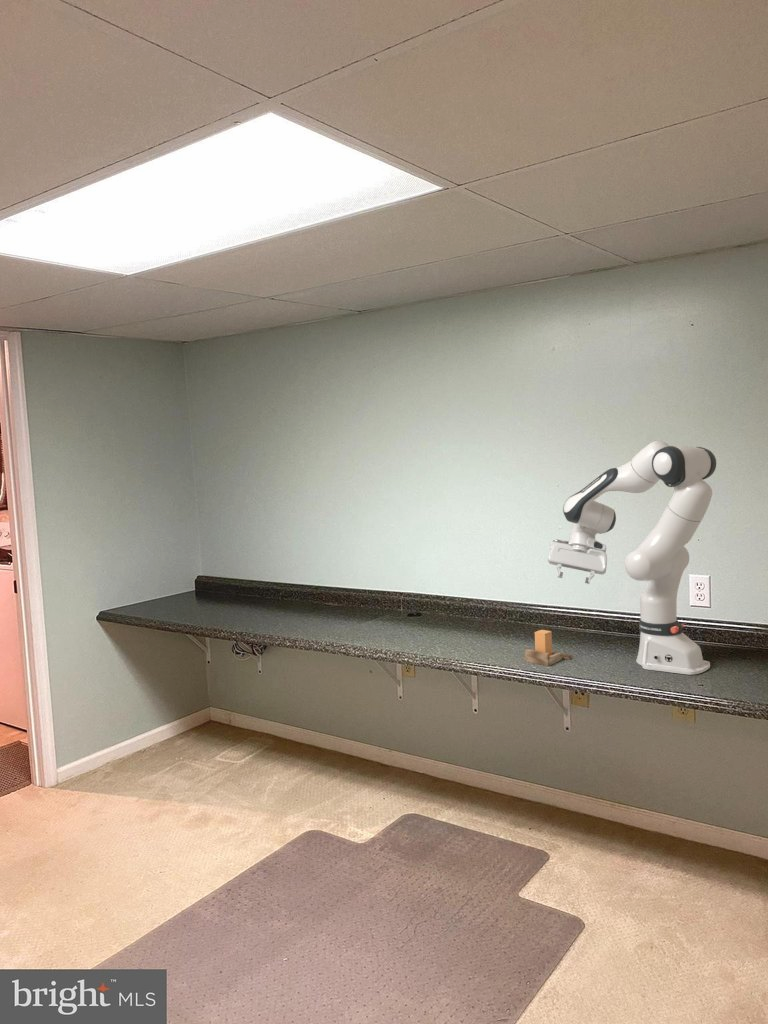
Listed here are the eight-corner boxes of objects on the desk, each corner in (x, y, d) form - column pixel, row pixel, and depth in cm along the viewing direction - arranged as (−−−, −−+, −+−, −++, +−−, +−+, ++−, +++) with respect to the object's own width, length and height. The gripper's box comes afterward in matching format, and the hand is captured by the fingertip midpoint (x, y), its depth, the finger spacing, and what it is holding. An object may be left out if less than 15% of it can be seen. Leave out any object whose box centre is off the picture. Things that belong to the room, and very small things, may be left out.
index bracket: (561, 659, 261) (561, 648, 260) (547, 666, 255) (547, 654, 254) (539, 655, 267) (539, 644, 266) (525, 661, 261) (525, 650, 261)
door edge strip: (571, 658, 262) (570, 654, 262) (568, 659, 261) (568, 656, 261) (540, 652, 270) (540, 649, 270) (538, 653, 269) (538, 650, 269)
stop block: (552, 660, 261) (551, 631, 260) (545, 663, 258) (544, 633, 257) (542, 658, 264) (541, 629, 263) (535, 661, 261) (534, 632, 260)
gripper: (551, 535, 276) (543, 571, 271) (610, 546, 270) (603, 583, 265) (551, 541, 281) (543, 576, 277) (609, 553, 276) (602, 589, 271)
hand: (573, 580), depth 271 cm, fingers open, 8 cm apart
